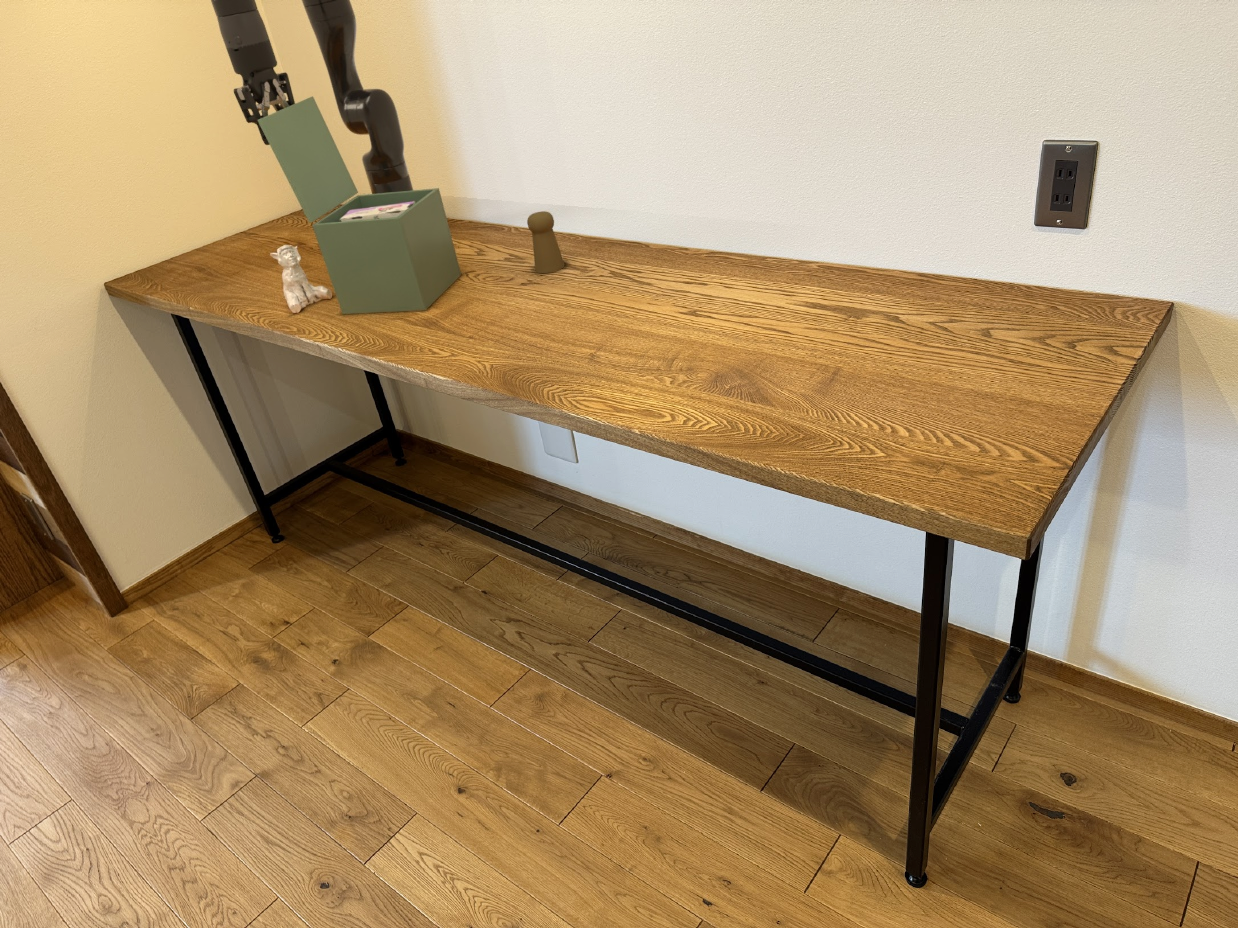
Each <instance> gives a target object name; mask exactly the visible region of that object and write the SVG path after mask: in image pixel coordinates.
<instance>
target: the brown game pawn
mask: <svg viewBox="0 0 1238 928" xmlns="http://www.w3.org/2000/svg"><path fill="white" fill-rule="evenodd" d="M526 223H527V227H528V230H529V231H530V232H531V235H532V247H533V248H532V249H533V261H534V262H533V263H534V271H535V272H536V273H538V274H550V273H555V272H558V271H560V270H562V269H563V268H565V262H564V257H563V255H562V253H561V250H560V246H559V244H558V241H557V238H556V235H555V232H554V229H553V228H554V226H555V219H554V216H553V215H552V213H550V212H549V211H546V210H545V211H537V212H533V213H531V214H529V216H528V217H527V221H526Z"/></svg>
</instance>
